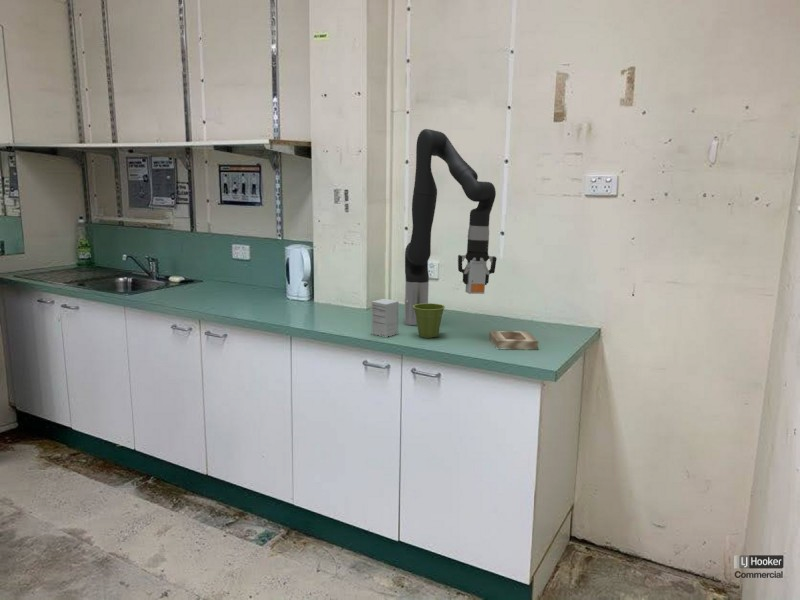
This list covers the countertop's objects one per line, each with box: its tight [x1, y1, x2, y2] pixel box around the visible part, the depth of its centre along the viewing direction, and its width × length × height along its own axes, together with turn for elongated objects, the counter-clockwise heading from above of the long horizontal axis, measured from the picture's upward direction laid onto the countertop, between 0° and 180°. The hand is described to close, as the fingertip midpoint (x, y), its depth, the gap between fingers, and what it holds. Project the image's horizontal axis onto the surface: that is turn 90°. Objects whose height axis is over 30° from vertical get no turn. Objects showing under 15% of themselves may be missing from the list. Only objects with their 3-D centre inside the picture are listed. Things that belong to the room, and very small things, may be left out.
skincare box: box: [464, 260, 488, 295], centre depth 210 cm, size 6×4×12 cm
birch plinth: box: [488, 330, 539, 350], centre depth 206 cm, size 14×14×3 cm
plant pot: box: [413, 302, 446, 339], centre depth 214 cm, size 12×12×11 cm
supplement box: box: [371, 298, 400, 338], centre depth 215 cm, size 7×7×13 cm
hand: (475, 284), depth 211 cm, fingers closed on skincare box, 6 cm apart
